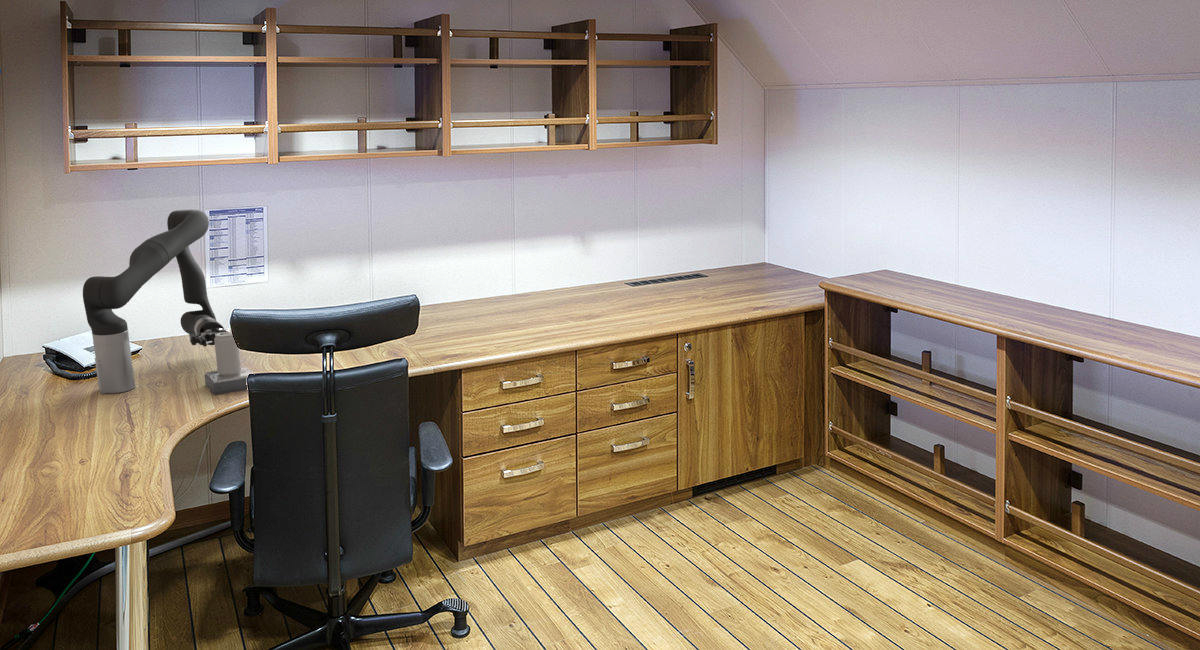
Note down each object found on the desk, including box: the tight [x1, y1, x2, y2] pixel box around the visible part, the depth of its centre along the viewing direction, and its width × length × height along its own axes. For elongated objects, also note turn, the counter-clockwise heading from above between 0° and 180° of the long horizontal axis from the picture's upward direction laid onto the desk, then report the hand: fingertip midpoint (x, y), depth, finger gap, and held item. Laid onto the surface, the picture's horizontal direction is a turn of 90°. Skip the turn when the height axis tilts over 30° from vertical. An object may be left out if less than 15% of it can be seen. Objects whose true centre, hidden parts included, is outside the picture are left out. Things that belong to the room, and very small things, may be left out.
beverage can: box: [214, 332, 242, 376], centre depth 275 cm, size 6×6×12 cm
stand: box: [204, 366, 254, 396], centre depth 277 cm, size 12×12×4 cm
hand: (220, 341), depth 282 cm, fingers open, 8 cm apart
